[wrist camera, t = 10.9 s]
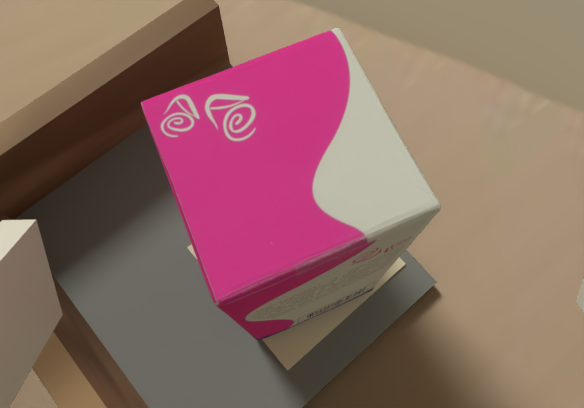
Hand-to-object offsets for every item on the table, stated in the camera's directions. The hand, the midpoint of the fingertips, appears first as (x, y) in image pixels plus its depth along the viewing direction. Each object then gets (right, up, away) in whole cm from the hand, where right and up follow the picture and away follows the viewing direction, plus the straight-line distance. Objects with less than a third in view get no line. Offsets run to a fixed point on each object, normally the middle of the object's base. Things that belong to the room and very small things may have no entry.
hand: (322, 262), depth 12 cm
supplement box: (-1, -1, +11) cm, 11 cm away
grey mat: (-5, -1, +11) cm, 13 cm away
